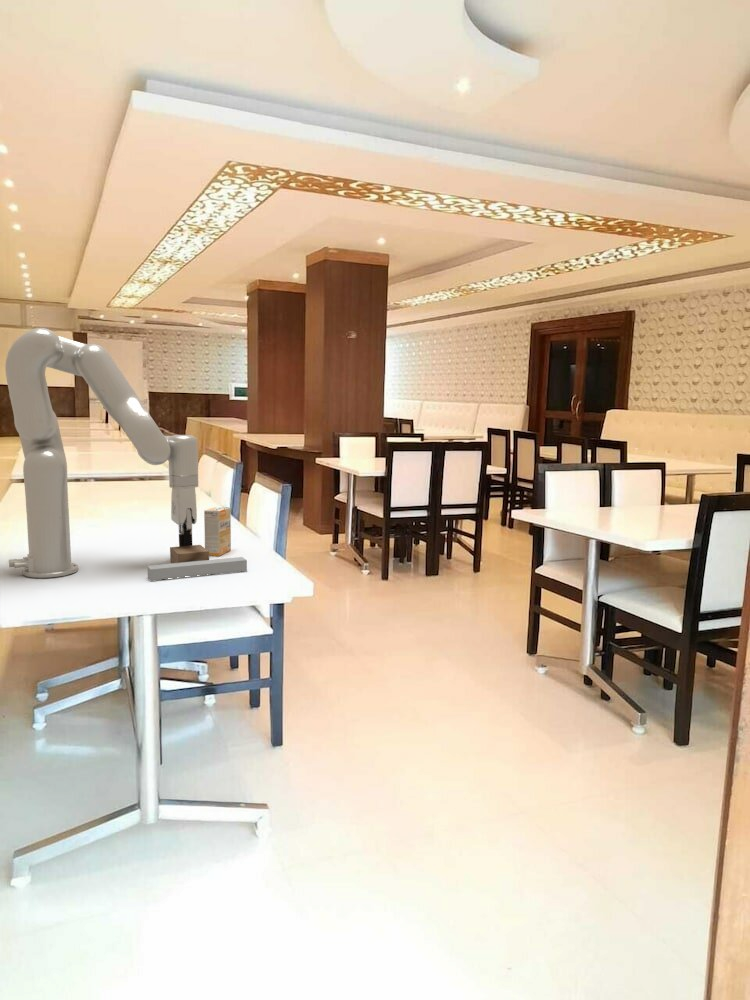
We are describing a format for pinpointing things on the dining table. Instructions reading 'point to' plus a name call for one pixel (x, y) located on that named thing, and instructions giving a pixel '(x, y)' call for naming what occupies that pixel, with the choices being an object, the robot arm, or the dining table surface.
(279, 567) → the dining table surface
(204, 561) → the grey board
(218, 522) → the supplement box
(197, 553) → the walnut block
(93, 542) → the dining table surface
